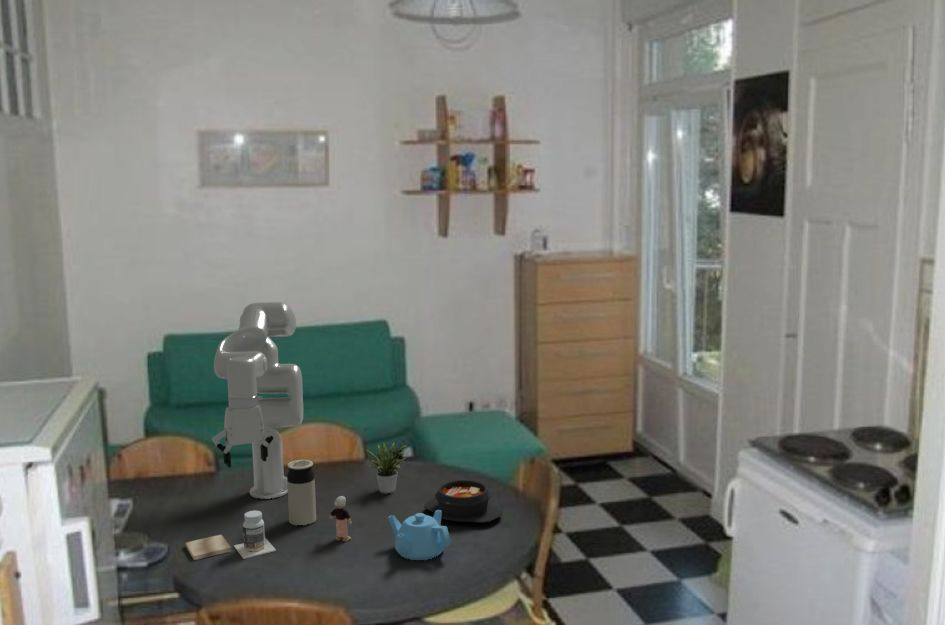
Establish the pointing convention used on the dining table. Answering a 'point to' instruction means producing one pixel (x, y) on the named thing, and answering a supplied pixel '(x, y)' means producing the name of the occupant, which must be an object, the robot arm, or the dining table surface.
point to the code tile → (248, 554)
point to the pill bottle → (253, 531)
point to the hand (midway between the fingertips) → (246, 462)
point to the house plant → (387, 468)
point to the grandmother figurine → (341, 518)
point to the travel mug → (301, 492)
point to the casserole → (464, 502)
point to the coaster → (208, 547)
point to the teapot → (420, 536)
